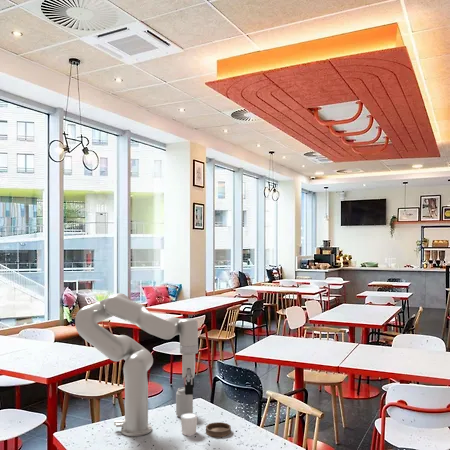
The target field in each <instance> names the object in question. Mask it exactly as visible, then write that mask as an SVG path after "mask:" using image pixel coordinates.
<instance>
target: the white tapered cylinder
mask: <svg viewBox="0 0 450 450" xmlns="http://www.w3.org/2000/svg"><path fill="white" fill-rule="evenodd" d="M180 421H181V422H180V423H181V425H180V426H181V432H182V435H184V436H194V435H196V433H197V425H198V414H196V413H194V412H193V413H185V414H182V415H181V418H180Z"/></svg>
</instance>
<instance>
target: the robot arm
mask: <svg viewBox="0 0 450 450" xmlns="http://www.w3.org/2000/svg"><path fill="white" fill-rule="evenodd" d="M113 317H116V318H118V319H120V320H123V321H125V322H128V323H130V324H133V325H135V326H136V327H138V328H139V329H141V330H143V331H144V332H146V333H147V334H149V335H152V336H155V337H157V338H160V339H163V340H171V339H173V338H174V337H175V336H178V335H179V353H180V354H181V355H182V357H181V358H182V359H181V360H182V361H181V362H182V363H181V366H182V367H181V369H182V370H181V372H182V373H181V378H182V379H183V380H184V379H185V383H184V387H185V395H193V394H194V387H195V375H196V374H195V372H196V354H198V353H199V329H198V327H199V325H198V324H199V323H198V320H197V319H195V318H190V317H189V318H187V317H186V318H178V317H169V318H166V319H163V318H162V317H158V316H156V315H154V314H152V313H151V312H150V311H149V310H148V308H147V307H146V306H145V305H143V304H141V303H138V302H135V301H133V300H130V298H129V297H128V295H126V294H124V293H121V292H120V293H119V292H117V293H114V294H112V295H109V296H108V297H107V298H104V299H101V300H100V301H96V302H94V303H91V304H88V305H85V306H83V307H81V308H80V309H79V310H78V311H77V312H76V316H75V320H74V324H75V329H76V332H77V334H78V335H79V337H81V338H82V339H83V340H84V341H85V342H87V343H89V344H90V345H91V346H92V347H94V348H95V349H96V350H97V351H99V352H100V353H102V354H103V355H104V356H105V357H107V358H108V359H109V360H110V361H113V362H120V361H122V360H124V361H125V362H124V364H123V367H122V370H123V372H122V373H123V379H124V419H122V420H114V423H113V425H114V426H116V428H120V427H121V429H120V433H121V434H122V435H123V436H128V437H141V436H144V435H147V434H149V433H151V432H152V430H153V428H152V427H153V426H152V425H151V424H150V423H149V383H148V371H149V370H150V369H151V367H152V366H153V364H154V358H153V354H152V353H151V352H150V350H148V349H147V348H145V347H144V346H143V345H141V344H140V343H138V342H137V341H136V340H135V339H133V338H132V337H131V336H128V335H125V334H120V335H114V334H113V333H111V332H110V331H109V330H108V329H107V328H104V327H102V326H100V325H99V324H98V323H101V322H102V321H105V320H107V319H110V318H113ZM193 396H194V395H193Z"/></svg>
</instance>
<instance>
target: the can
mask: <svg viewBox="0 0 450 450" xmlns="http://www.w3.org/2000/svg"><path fill="white" fill-rule="evenodd" d="M193 397H194V395H185V386H184V387H178V388H177V391H176V393H175V414H176V417H177V416H178V418H180V419H181V415H182V414H185V413H194V409H193V408H194V402H193V401H194V399H193Z"/></svg>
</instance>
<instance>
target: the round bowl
mask: <svg viewBox="0 0 450 450" xmlns="http://www.w3.org/2000/svg"><path fill="white" fill-rule="evenodd" d="M231 432H232V428H231V425H230V424H229V423H226V422H211V423H208V424H206V426H205V434H206V435H207V436H210V437H213V438H223V437H226V436H229V435H231Z"/></svg>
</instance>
